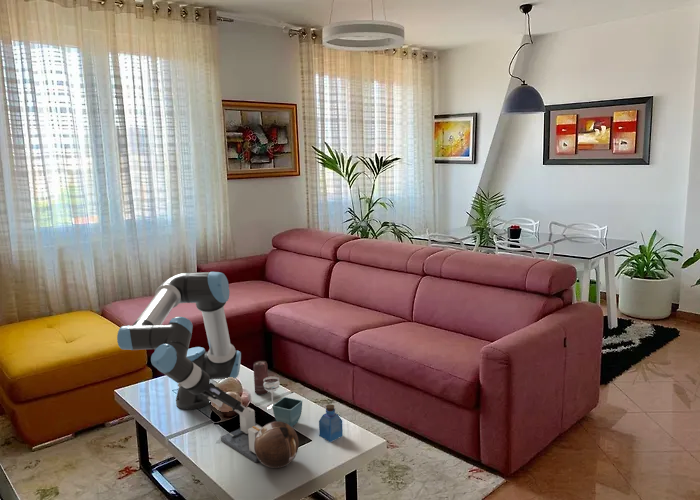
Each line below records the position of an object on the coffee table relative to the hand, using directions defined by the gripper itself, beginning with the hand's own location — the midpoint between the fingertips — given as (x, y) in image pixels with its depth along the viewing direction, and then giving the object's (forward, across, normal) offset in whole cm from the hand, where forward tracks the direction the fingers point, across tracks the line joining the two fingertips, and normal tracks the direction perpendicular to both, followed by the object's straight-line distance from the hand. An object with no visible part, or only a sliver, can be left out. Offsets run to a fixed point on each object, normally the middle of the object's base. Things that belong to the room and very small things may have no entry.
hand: (234, 408), depth 184 cm
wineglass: (+40, -25, +13) cm, 48 cm away
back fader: (+24, -14, -1) cm, 28 cm away
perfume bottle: (+39, +11, +11) cm, 42 cm away
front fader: (+20, 0, -6) cm, 21 cm away
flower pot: (+36, -8, +8) cm, 38 cm away
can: (+43, -39, +18) cm, 61 cm away
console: (+24, -7, -4) cm, 25 cm away
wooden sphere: (+22, +10, -8) cm, 25 cm away
